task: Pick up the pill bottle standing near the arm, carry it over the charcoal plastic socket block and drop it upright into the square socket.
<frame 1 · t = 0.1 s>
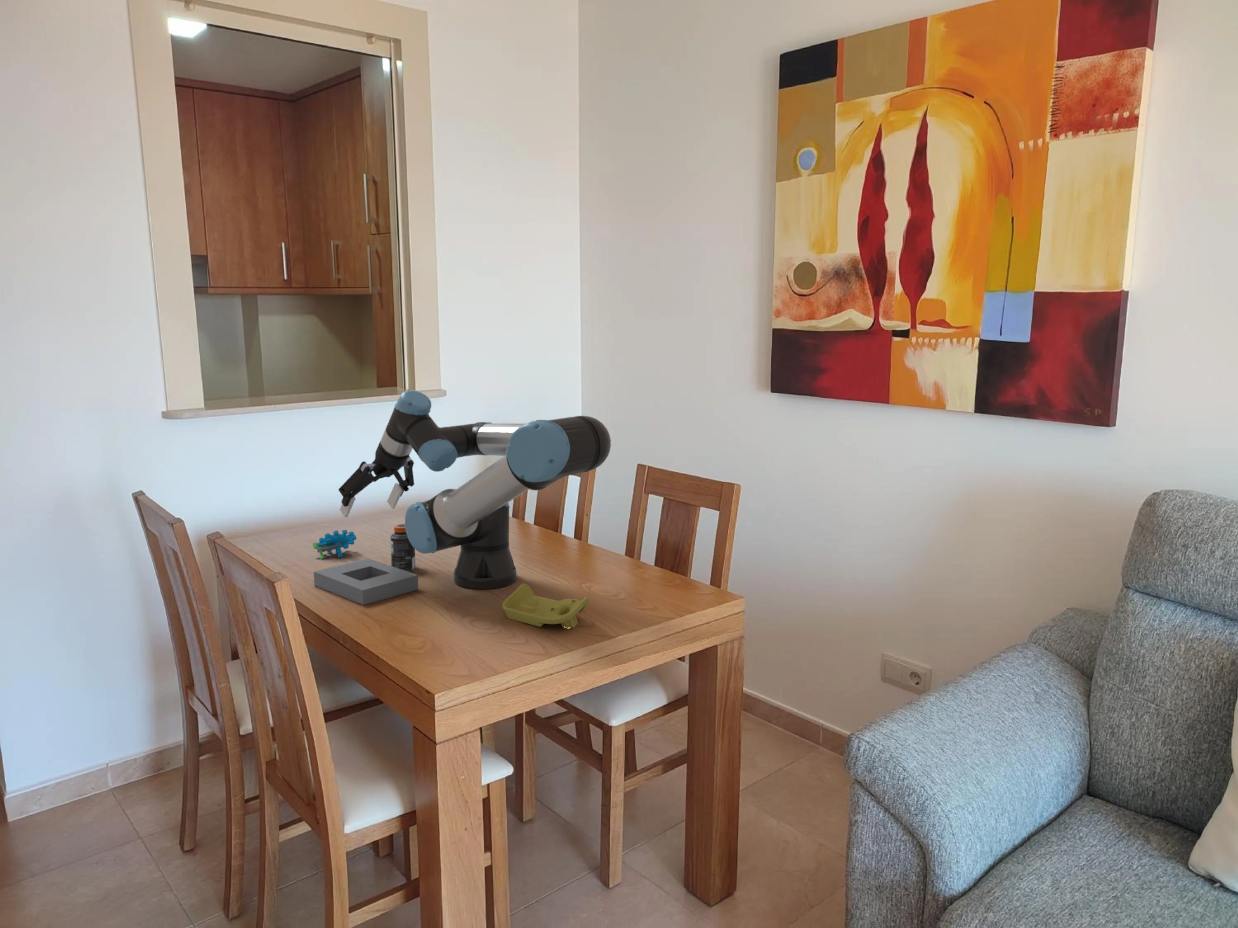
hand: (367, 509, 218), 15 cm above the table, tool tilted 35°, fingers open, 13 cm apart
pill bottle: (403, 569, 220), on the table
gear: (335, 556, 231), on the table
socket block: (366, 587, 205), on the table
plastic component: (547, 623, 186), on the table
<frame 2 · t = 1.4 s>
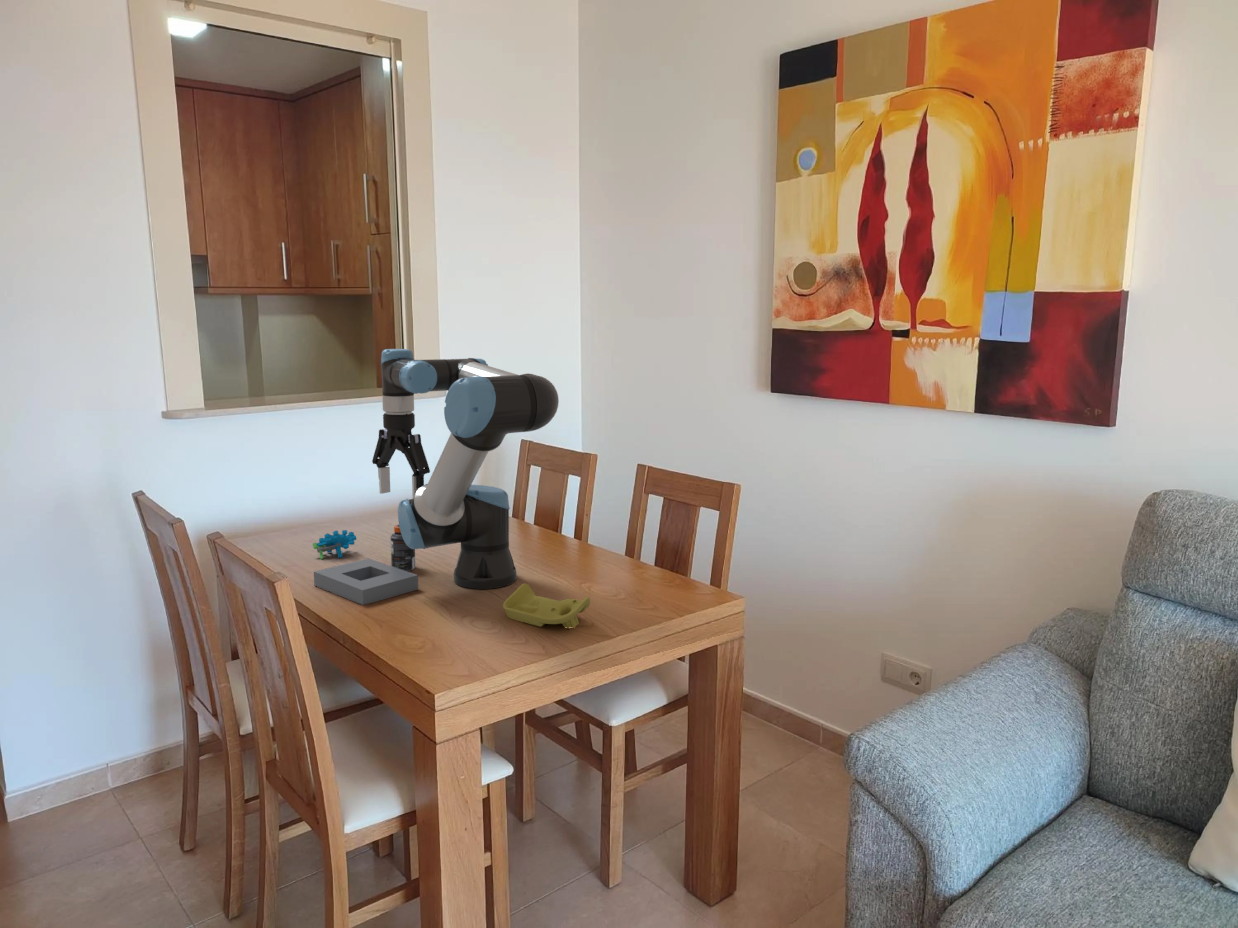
hand: (401, 497, 217), 19 cm above the table, tool pointing down, fingers open, 13 cm apart
nothing on the table moved.
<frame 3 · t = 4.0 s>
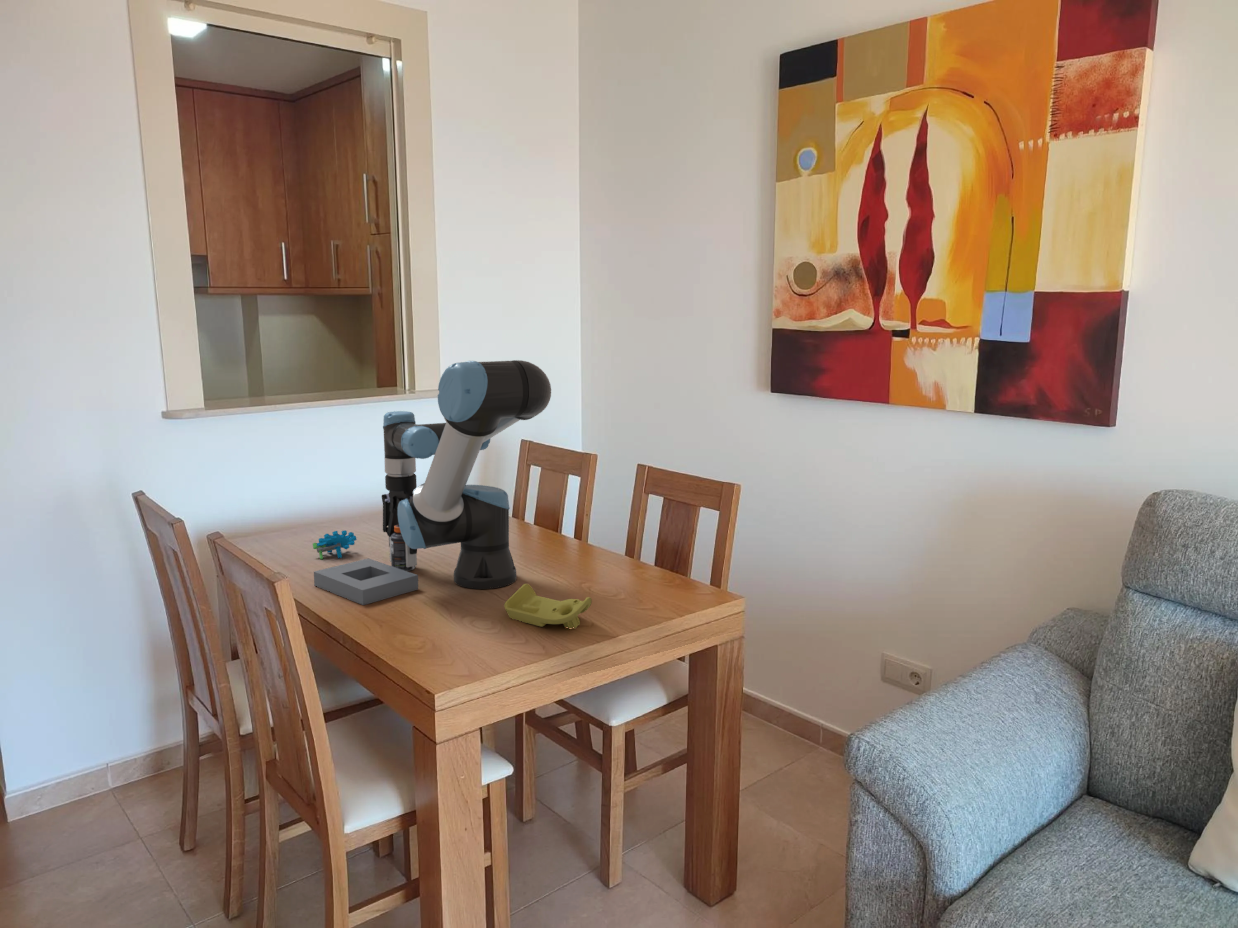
hand: (403, 563, 220), 1 cm above the table, tool pointing down, fingers closed on pill bottle, 6 cm apart
pill bottle: (403, 569, 220), on the table, touching gripper
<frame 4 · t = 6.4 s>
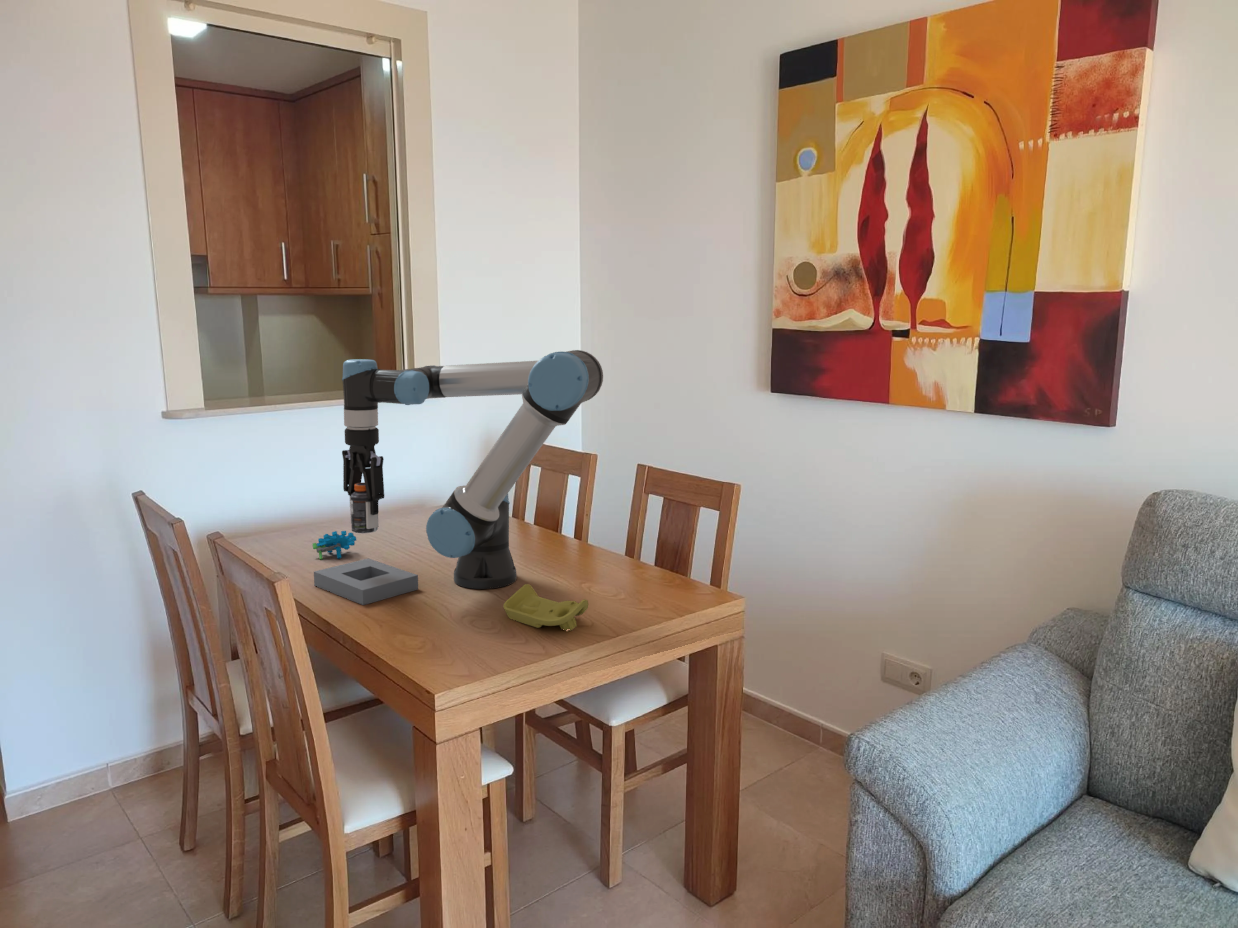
hand: (364, 524, 203), 15 cm above the table, tool pointing down, fingers closed on pill bottle, 6 cm apart
pill bottle: (364, 531, 204), point 13 cm above the table, touching gripper
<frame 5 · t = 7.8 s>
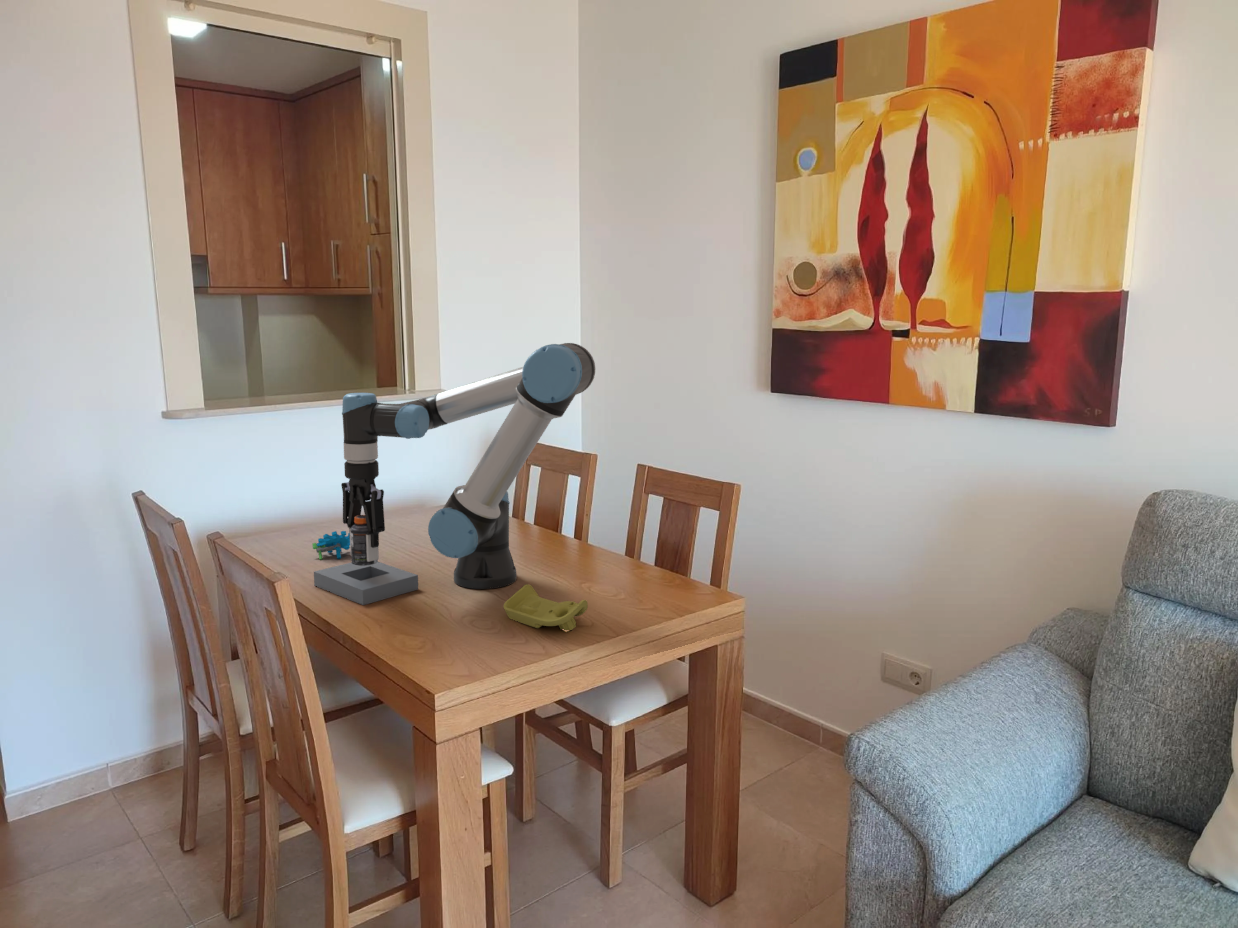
hand: (364, 557, 204), 7 cm above the table, tool pointing down, fingers closed on pill bottle, 6 cm apart
pill bottle: (364, 563, 204), point 6 cm above the table, touching gripper
when the fingers open (6 cm above the table, at t = 8.9 s): pill bottle drops 4 cm, resting in socket block.
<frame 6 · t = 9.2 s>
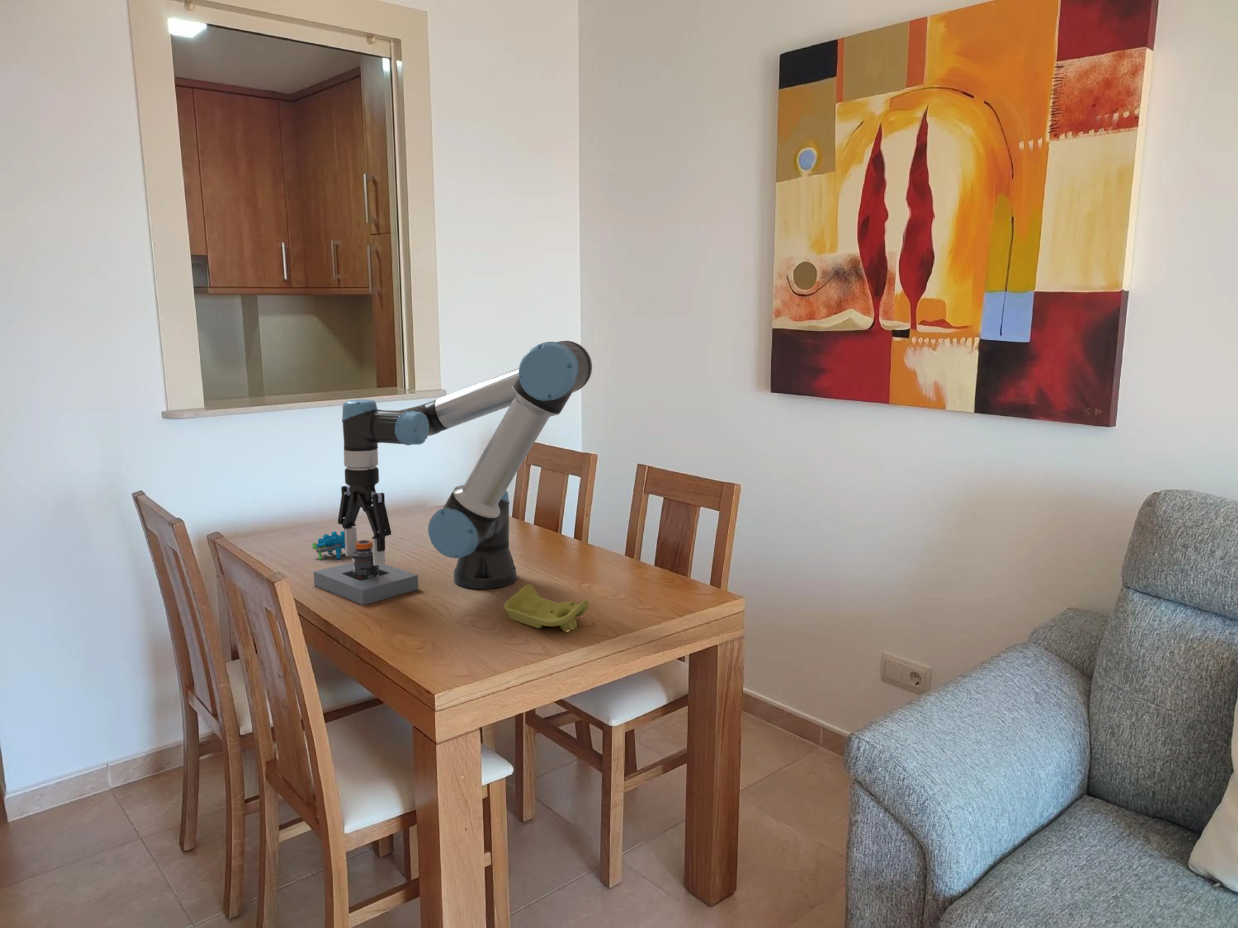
hand: (365, 559, 204), 7 cm above the table, tool pointing down, fingers open, 10 cm apart
pill bottle: (366, 588, 205), resting in socket block
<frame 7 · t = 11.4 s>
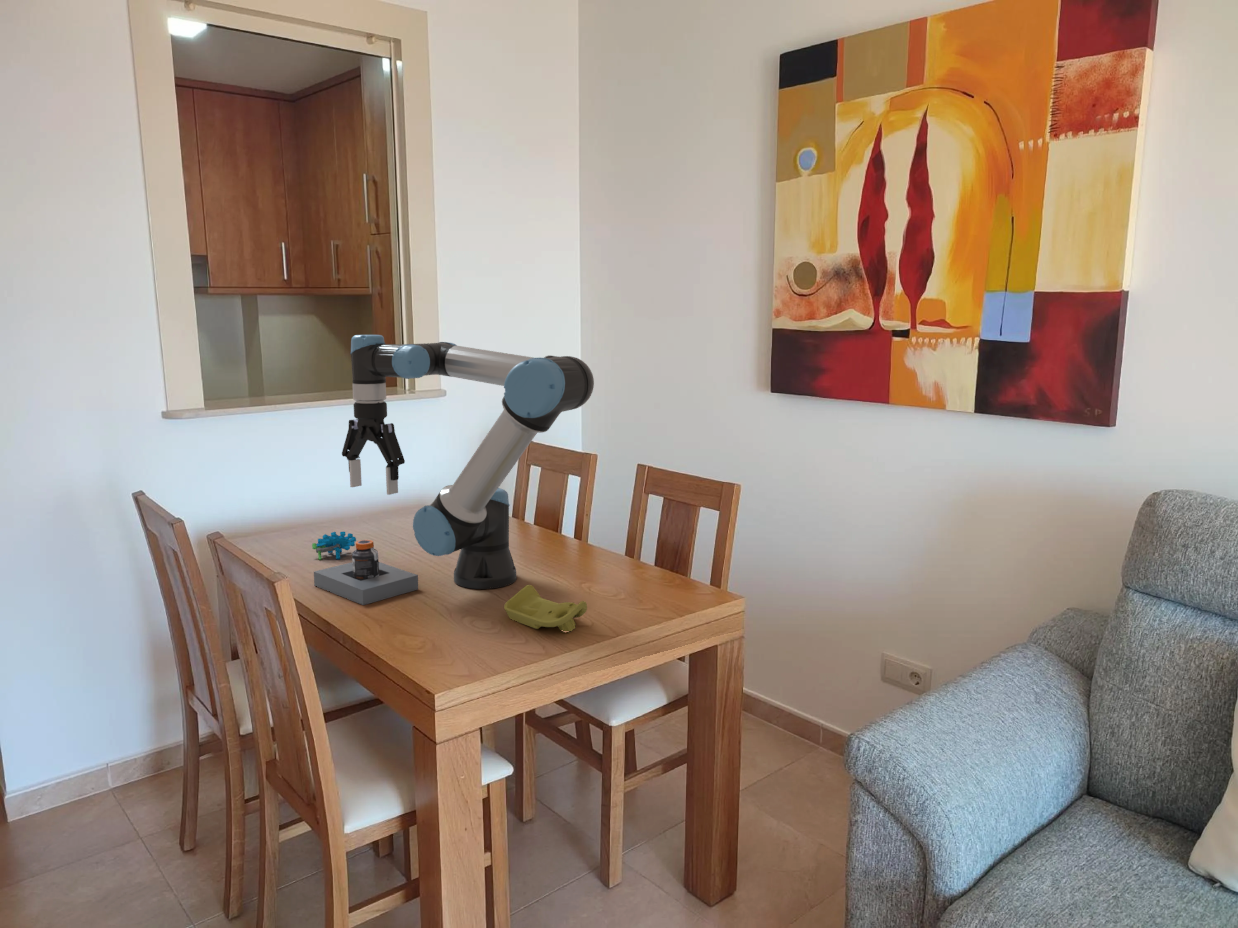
hand: (373, 490, 207), 22 cm above the table, tool pointing down, fingers open, 13 cm apart
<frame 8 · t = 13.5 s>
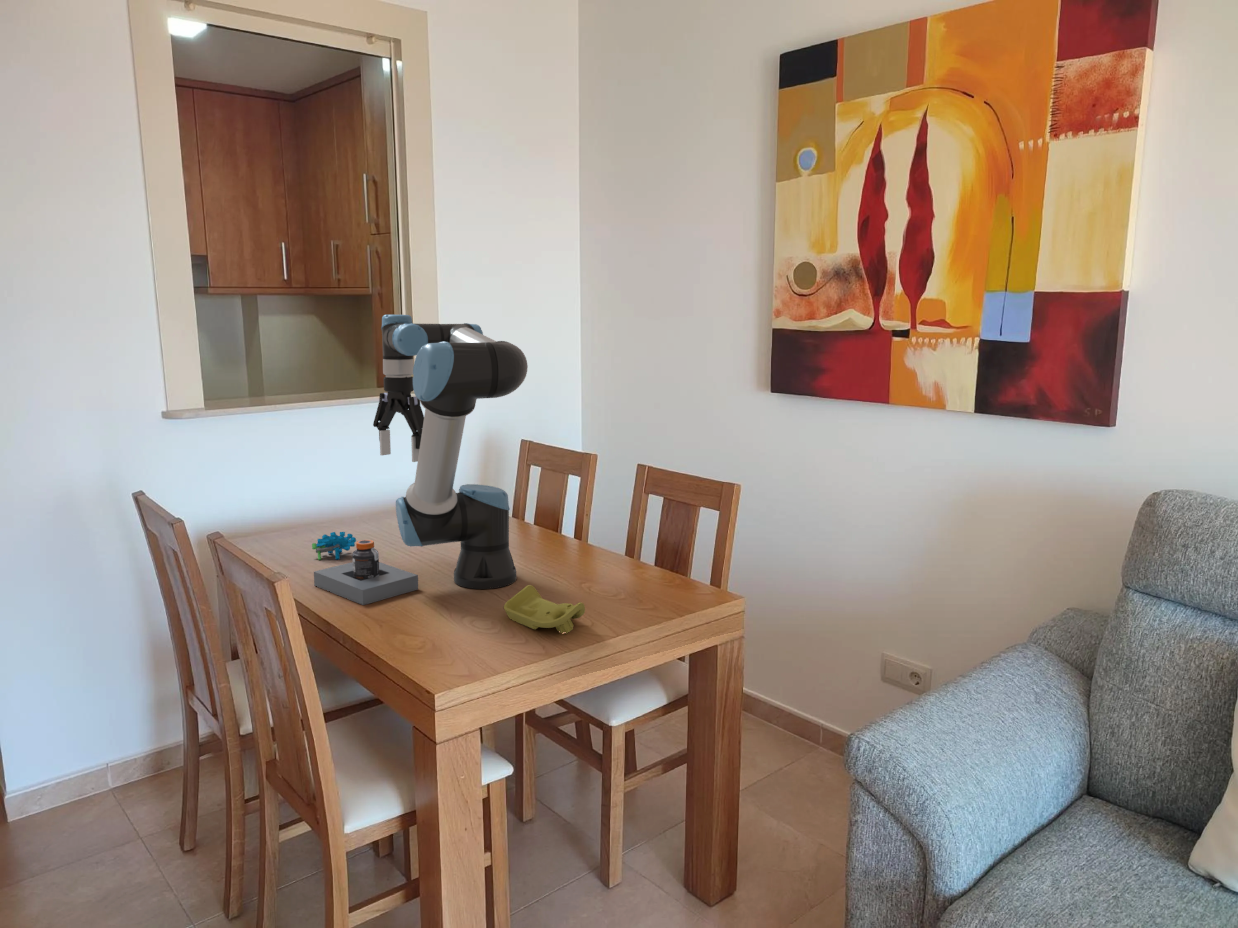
hand: (401, 458, 225), 27 cm above the table, tool pointing down, fingers open, 13 cm apart
at the end: pill bottle 0.2 cm off-centre on the socket block, point 0.0 cm above the socket block's base; pill bottle tilted 0°; the gripper is holding nothing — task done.
